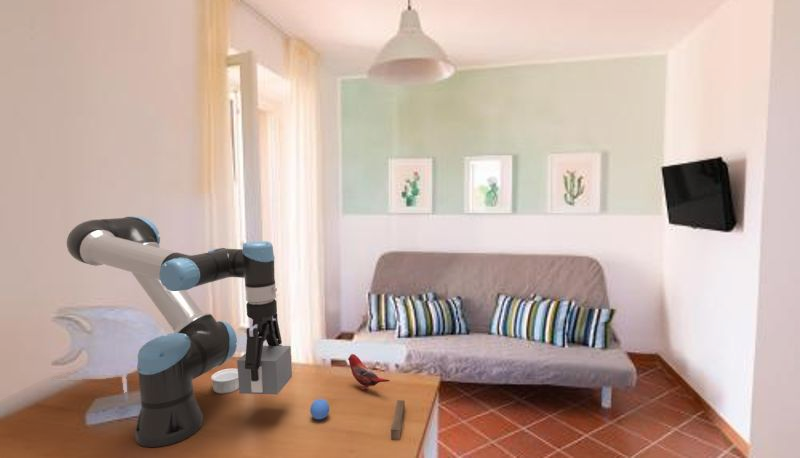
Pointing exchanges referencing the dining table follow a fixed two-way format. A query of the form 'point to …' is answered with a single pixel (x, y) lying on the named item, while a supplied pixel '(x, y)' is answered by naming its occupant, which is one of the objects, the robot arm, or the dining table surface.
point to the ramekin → (225, 381)
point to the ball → (319, 409)
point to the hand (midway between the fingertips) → (266, 381)
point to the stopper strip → (398, 420)
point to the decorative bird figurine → (363, 373)
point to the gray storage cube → (268, 370)
